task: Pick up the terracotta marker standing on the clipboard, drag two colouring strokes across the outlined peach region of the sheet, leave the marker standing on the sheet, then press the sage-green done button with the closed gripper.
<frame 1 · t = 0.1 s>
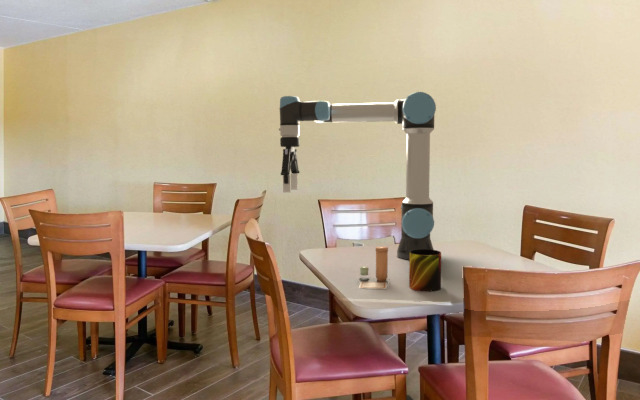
hand: (290, 191, 193), 28 cm above the table, fingers open, 13 cm apart
done button: (364, 270, 162), point 4 cm above the table, slide at 0.0 cm
clipboard: (373, 285, 158), on the table
mug: (419, 289, 154), on the table
marker: (381, 280, 161), point 1 cm above the table, touching clipboard
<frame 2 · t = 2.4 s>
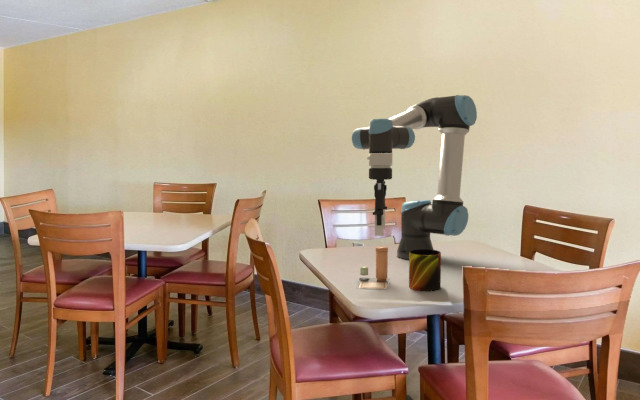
hand: (380, 232, 160), 17 cm above the table, fingers open, 13 cm apart
nothing on the table moved.
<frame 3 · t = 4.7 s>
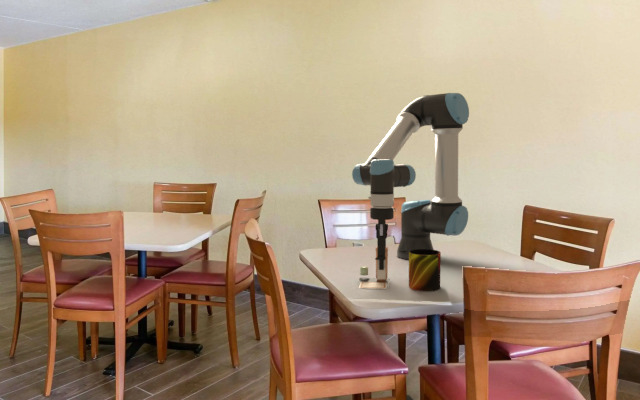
hand: (381, 277, 161), 2 cm above the table, fingers closed on marker, 3 cm apart
marker: (381, 280, 161), point 1 cm above the table, touching gripper
everything else where it was.
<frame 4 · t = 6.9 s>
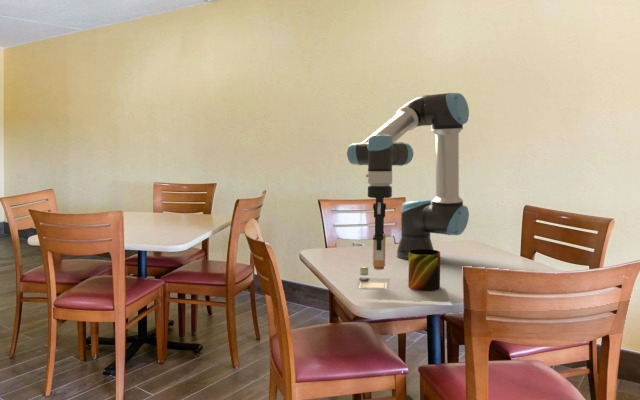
hand: (379, 258, 155), 9 cm above the table, fingers closed on marker, 3 cm apart
marker: (378, 268, 155), point 6 cm above the table, touching gripper
everything else where it was.
when the fingers open (3 cm above the table, at t = 9.6 s): marker stays where it is, resting on clipboard.
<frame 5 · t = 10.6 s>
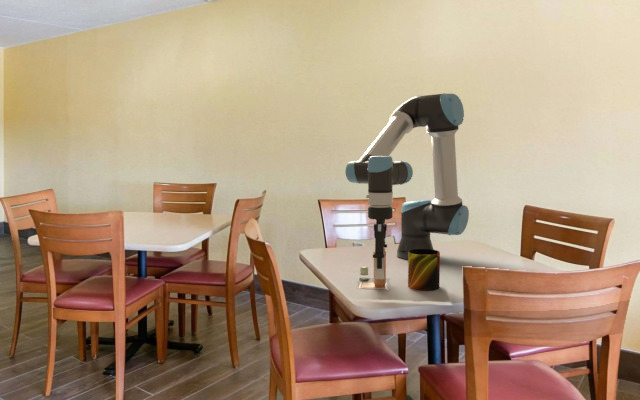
hand: (380, 273, 153), 5 cm above the table, fingers open, 13 cm apart
marker: (379, 286, 154), point 1 cm above the table, touching clipboard
everything else where it was.
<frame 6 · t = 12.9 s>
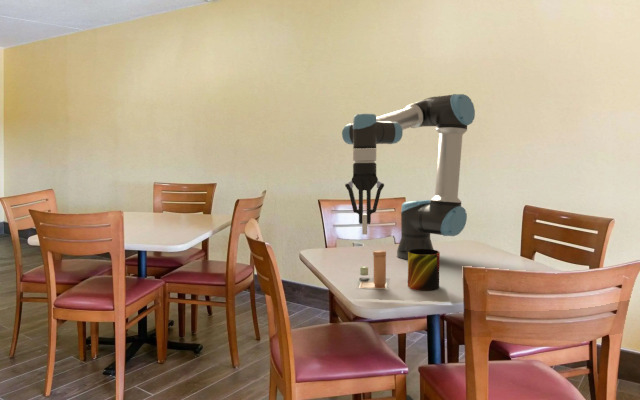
hand: (364, 233, 161), 16 cm above the table, fingers closed
nothing on the table moved.
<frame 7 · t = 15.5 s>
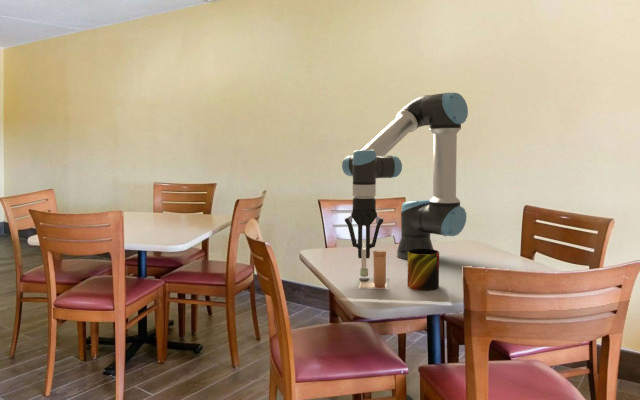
hand: (363, 267, 162), 5 cm above the table, fingers closed
done button: (364, 272, 162), point 3 cm above the table, slide at 0.4 cm, touching gripper
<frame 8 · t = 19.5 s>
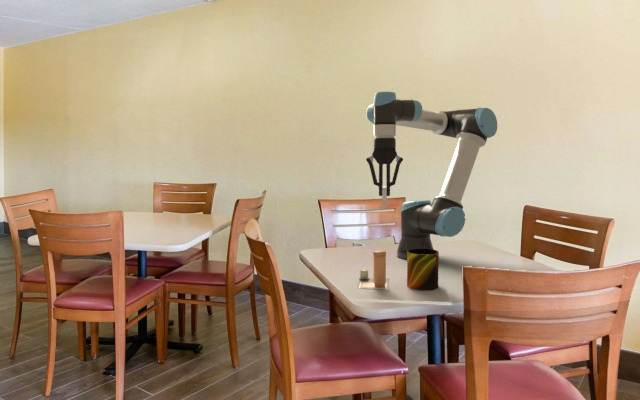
hand: (384, 205, 171), 24 cm above the table, fingers closed
done button: (364, 273, 162), point 3 cm above the table, slide at 1.0 cm
at the end: done button slide at 1.0 cm; marker inside the target area (2.5 cm from its centre), point 1.0 cm above the table; the gripper is holding nothing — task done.
